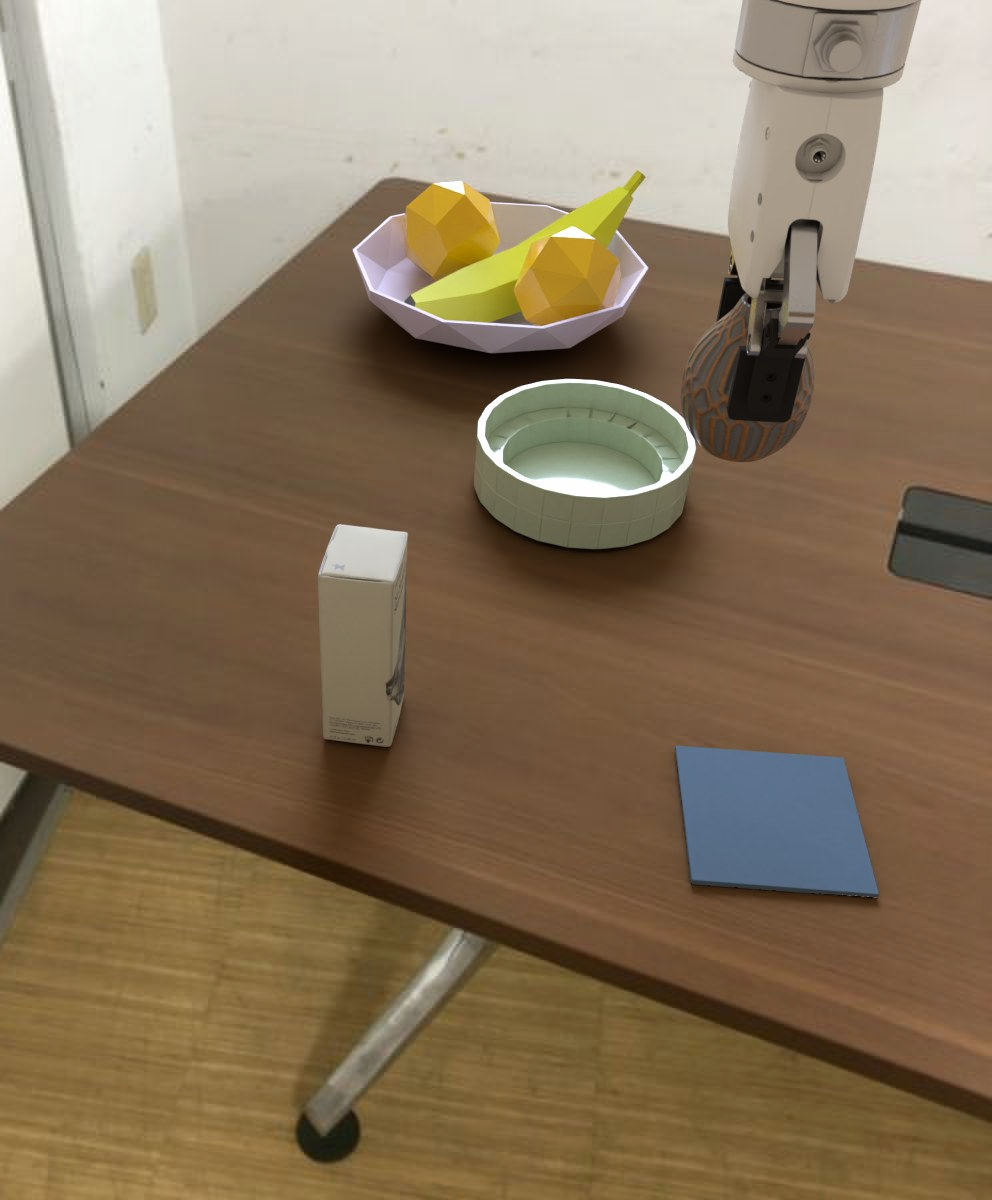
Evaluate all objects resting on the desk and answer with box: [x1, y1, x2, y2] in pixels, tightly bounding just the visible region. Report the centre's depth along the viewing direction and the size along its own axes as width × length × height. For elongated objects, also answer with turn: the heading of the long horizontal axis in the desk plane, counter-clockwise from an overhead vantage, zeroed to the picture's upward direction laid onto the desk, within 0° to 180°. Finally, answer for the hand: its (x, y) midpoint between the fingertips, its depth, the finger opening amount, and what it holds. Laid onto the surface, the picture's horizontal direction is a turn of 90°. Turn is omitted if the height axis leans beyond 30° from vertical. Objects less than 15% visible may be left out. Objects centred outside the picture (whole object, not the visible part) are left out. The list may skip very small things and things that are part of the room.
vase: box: [680, 293, 815, 463], centre depth 67 cm, size 7×7×9 cm
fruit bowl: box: [352, 169, 649, 354], centre depth 114 cm, size 28×27×11 cm
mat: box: [674, 745, 880, 898], centre depth 71 cm, size 10×10×1 cm
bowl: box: [473, 378, 697, 550], centre depth 95 cm, size 16×16×5 cm
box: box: [317, 523, 409, 748], centre depth 73 cm, size 5×4×13 cm
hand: (749, 378), depth 67 cm, fingers closed on vase, 6 cm apart
